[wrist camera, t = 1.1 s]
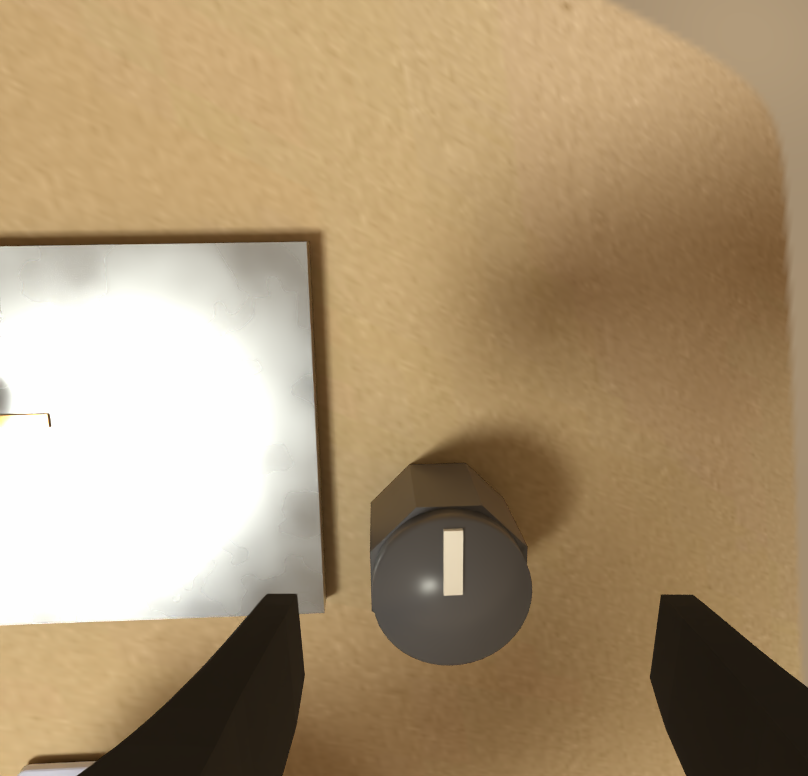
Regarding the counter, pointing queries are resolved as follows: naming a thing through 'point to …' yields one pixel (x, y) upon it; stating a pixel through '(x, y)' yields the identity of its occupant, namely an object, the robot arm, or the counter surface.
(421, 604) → the knob
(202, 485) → the panel
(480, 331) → the counter surface
